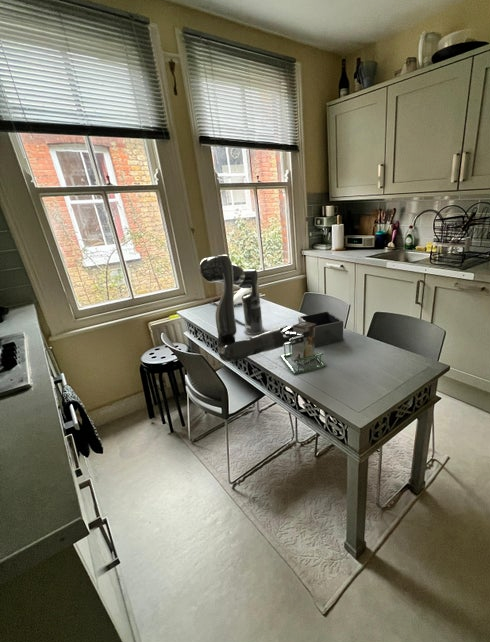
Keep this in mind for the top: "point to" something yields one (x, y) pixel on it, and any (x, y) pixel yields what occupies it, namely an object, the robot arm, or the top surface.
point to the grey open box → (325, 327)
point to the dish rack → (303, 361)
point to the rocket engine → (240, 295)
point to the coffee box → (308, 345)
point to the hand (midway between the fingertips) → (304, 330)
